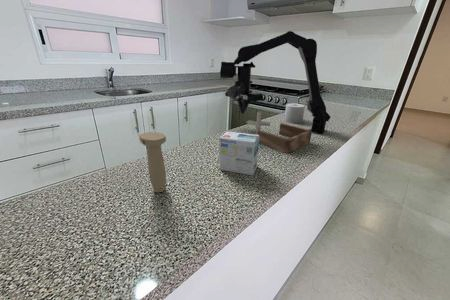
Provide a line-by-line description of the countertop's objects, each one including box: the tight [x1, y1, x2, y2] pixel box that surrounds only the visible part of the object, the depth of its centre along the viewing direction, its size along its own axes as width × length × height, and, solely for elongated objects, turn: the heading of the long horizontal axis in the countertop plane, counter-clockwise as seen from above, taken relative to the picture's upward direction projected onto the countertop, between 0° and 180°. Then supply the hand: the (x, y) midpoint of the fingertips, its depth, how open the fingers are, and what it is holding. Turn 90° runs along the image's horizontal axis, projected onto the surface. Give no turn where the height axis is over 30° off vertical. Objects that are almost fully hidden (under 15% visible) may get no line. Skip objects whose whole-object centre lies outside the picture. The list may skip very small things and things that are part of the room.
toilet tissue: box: [284, 103, 306, 124], centre depth 115 cm, size 9×13×9 cm
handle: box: [138, 131, 167, 193], centre depth 52 cm, size 5×6×15 cm
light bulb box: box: [219, 131, 260, 176], centre depth 64 cm, size 11×7×11 cm, turn 71°
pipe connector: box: [246, 111, 271, 135], centre depth 94 cm, size 10×10×10 cm
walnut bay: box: [256, 122, 313, 154], centre depth 85 cm, size 16×14×5 cm
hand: (242, 113), depth 99 cm, fingers closed
